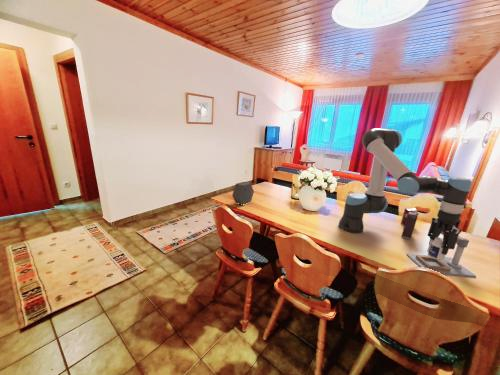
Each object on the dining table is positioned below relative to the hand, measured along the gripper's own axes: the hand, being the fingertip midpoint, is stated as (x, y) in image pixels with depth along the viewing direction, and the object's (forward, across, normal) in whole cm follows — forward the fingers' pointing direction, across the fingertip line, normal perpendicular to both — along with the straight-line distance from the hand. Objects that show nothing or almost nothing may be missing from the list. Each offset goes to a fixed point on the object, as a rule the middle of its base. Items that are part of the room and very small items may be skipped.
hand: (435, 255), depth 100 cm
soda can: (+6, +49, -18) cm, 53 cm away
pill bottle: (+1, 0, 0) cm, 1 cm away
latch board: (+6, +1, -4) cm, 7 cm away
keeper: (-6, +8, -11) cm, 15 cm away
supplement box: (+6, +31, -7) cm, 32 cm away
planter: (+6, +66, +103) cm, 123 cm away
